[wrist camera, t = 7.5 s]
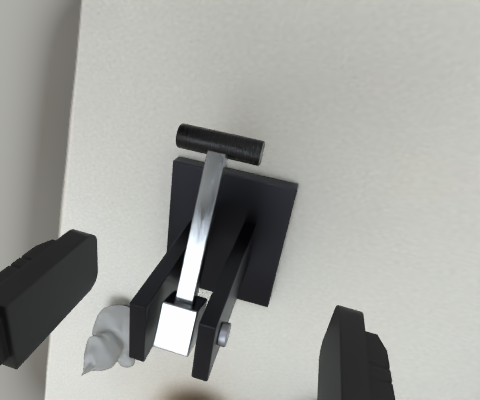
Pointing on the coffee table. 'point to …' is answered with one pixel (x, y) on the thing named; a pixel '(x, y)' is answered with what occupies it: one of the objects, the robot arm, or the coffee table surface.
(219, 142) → the t-handle lever
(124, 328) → the grey swirled lump
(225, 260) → the lever base
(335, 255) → the coffee table surface
